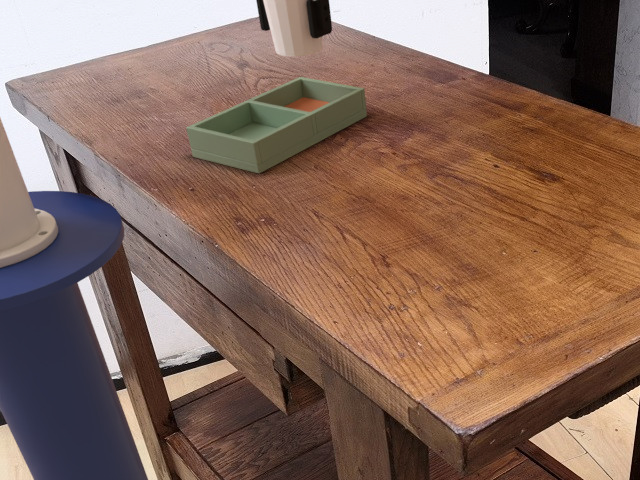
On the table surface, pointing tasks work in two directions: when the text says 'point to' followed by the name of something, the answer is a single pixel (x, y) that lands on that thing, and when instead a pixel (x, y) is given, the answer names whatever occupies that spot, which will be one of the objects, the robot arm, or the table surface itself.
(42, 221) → the robot arm
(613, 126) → the table surface
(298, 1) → the white tapered cup
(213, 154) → the tray
